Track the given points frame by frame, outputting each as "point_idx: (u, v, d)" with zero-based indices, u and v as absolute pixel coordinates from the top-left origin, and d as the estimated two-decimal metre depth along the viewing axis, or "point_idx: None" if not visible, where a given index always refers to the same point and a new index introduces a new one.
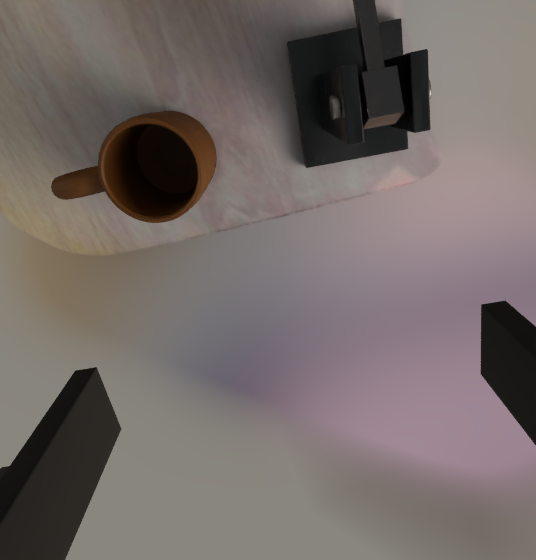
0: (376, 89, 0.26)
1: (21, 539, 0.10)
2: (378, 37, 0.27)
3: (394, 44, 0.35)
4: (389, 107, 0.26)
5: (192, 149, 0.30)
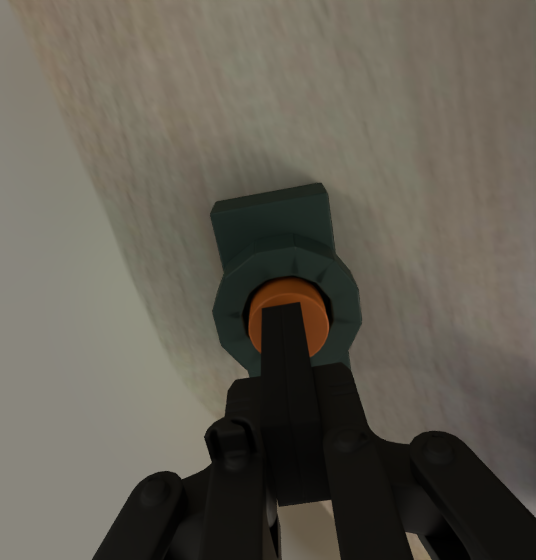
0: None
1: None
2: None
3: None
4: None
5: None
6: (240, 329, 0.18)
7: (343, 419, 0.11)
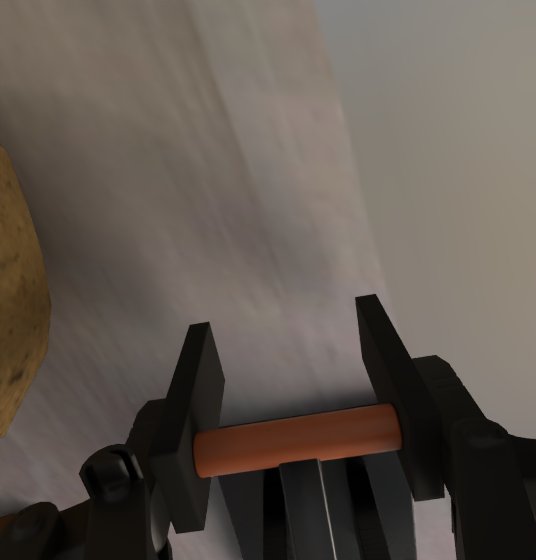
0: None
1: (191, 450, 0.12)
2: None
3: None
4: None
5: None
6: None
7: (457, 413, 0.11)
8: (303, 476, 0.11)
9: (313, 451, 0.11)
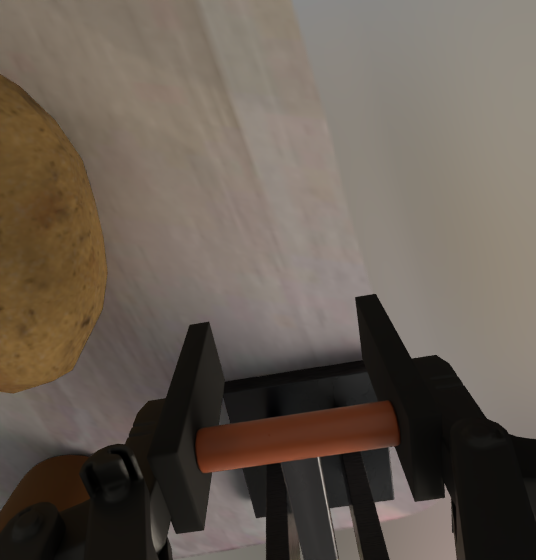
0: None
1: (191, 450, 0.12)
2: None
3: (372, 396, 0.25)
4: None
5: None
6: None
7: (457, 413, 0.11)
8: (303, 470, 0.12)
9: (314, 453, 0.12)
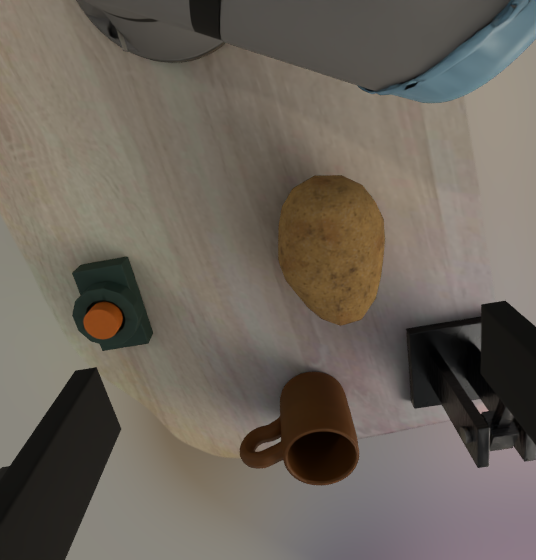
0: (499, 442, 0.38)
1: (21, 539, 0.10)
2: (513, 416, 0.36)
3: None
4: (503, 447, 0.38)
5: (354, 445, 0.41)
6: None
7: None
8: None
9: None
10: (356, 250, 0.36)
